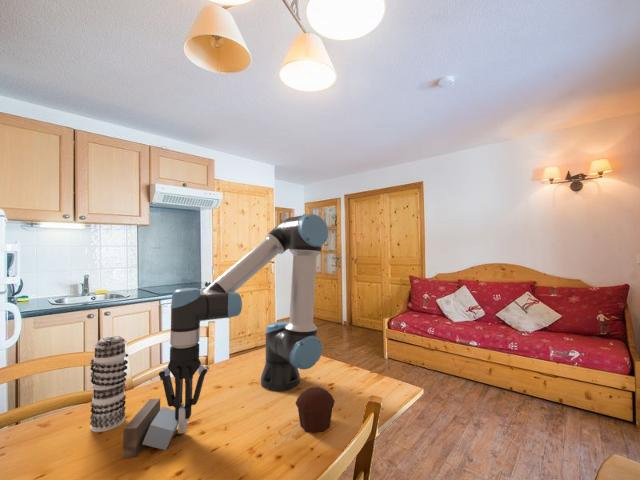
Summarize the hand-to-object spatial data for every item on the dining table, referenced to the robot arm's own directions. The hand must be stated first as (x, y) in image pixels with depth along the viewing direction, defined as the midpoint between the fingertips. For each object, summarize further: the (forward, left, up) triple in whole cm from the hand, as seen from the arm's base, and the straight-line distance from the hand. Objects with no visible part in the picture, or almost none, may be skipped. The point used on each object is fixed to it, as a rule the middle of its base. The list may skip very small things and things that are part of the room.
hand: (182, 430), depth 82 cm
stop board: (+10, 0, -2) cm, 11 cm away
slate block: (+5, +1, -1) cm, 6 cm away
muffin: (-37, 0, -2) cm, 37 cm away
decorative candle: (+24, -9, -2) cm, 26 cm away
